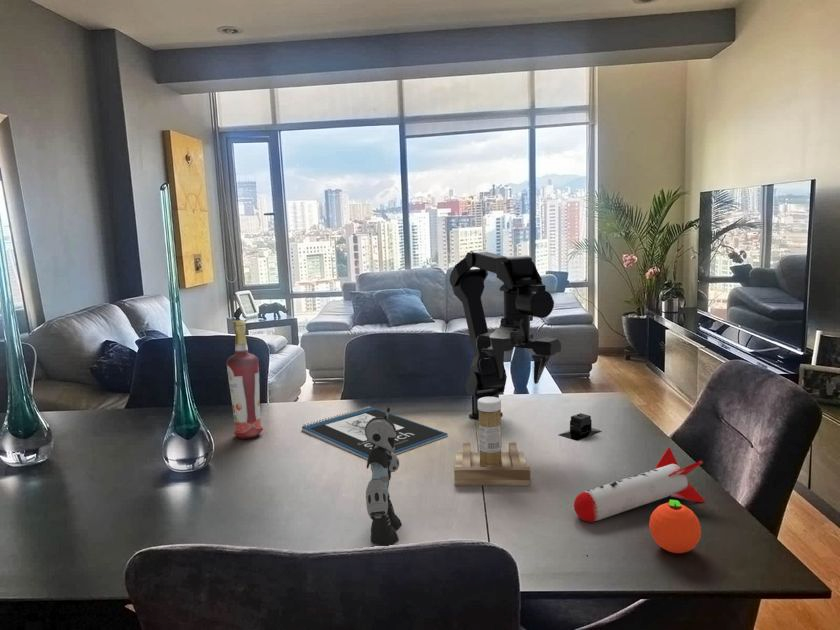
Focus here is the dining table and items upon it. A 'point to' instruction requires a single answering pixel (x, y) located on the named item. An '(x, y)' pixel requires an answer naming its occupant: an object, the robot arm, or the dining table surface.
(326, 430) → the sketchbook
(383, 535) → the robot
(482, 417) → the sprinkles bottle
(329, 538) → the dining table surface
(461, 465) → the cradle jig
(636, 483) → the model rocket
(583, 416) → the black angular piece
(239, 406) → the liquor
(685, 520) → the clementine
